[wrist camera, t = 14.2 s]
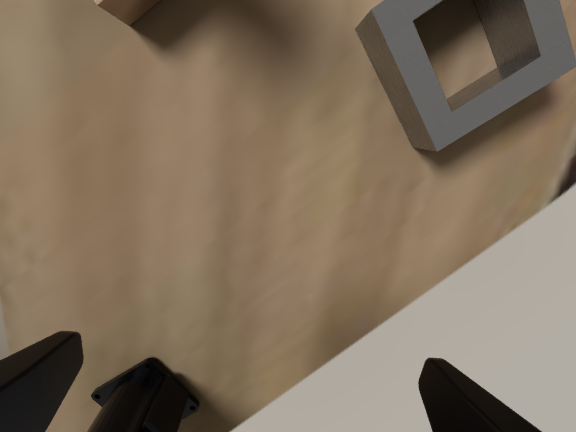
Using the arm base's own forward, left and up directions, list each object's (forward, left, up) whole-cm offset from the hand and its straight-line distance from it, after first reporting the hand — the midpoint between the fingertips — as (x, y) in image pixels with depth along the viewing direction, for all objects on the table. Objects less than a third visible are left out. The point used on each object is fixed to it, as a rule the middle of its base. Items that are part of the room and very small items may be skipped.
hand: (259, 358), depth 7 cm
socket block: (+14, +2, -13) cm, 19 cm away
